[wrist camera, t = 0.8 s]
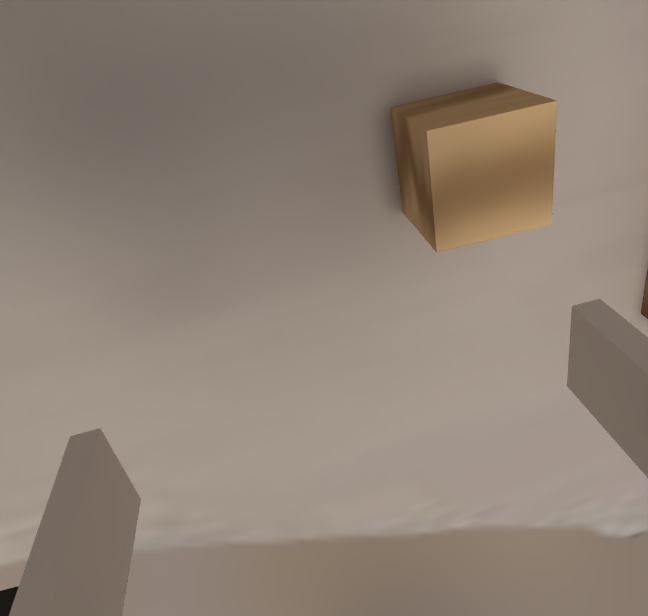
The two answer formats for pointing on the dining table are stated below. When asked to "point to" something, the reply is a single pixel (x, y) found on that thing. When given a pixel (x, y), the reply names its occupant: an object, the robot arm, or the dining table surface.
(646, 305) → the board
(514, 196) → the block
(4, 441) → the dining table surface
